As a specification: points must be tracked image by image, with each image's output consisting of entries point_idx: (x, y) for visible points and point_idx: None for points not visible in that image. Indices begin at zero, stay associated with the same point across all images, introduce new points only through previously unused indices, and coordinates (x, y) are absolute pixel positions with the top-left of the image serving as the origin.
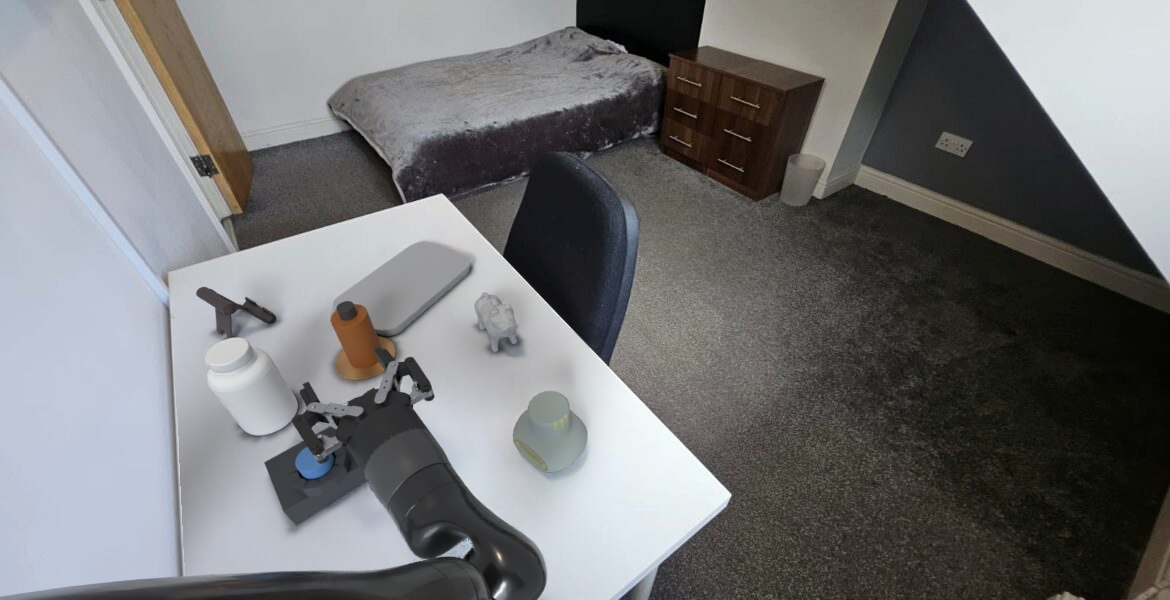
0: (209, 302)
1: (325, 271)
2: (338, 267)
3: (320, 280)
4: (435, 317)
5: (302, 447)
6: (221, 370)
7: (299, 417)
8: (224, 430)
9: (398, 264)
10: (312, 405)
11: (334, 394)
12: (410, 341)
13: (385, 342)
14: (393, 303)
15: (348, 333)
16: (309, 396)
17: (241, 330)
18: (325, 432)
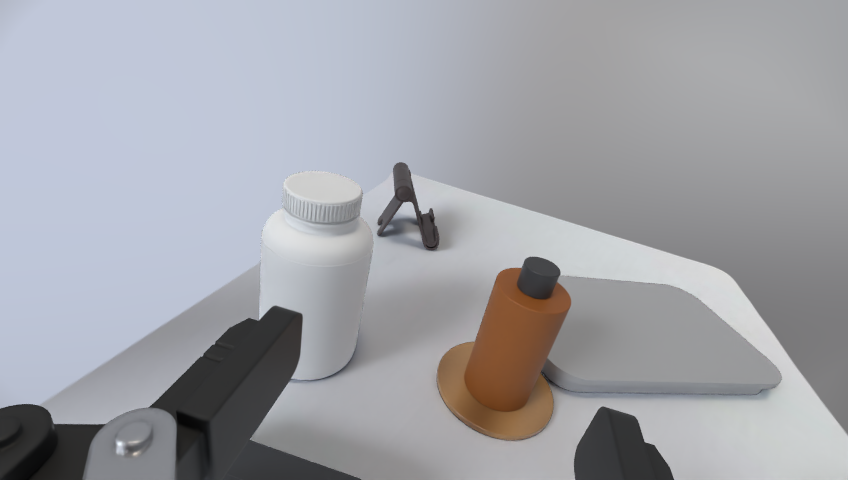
0: (394, 177)
1: (527, 243)
2: (545, 249)
3: (514, 247)
4: (657, 423)
5: (243, 458)
6: (286, 204)
7: (1, 439)
8: (253, 314)
9: (633, 294)
10: (133, 432)
11: (401, 399)
12: (585, 426)
13: (541, 388)
14: (597, 338)
15: (508, 317)
16: (215, 370)
17: (396, 234)
18: (303, 471)
